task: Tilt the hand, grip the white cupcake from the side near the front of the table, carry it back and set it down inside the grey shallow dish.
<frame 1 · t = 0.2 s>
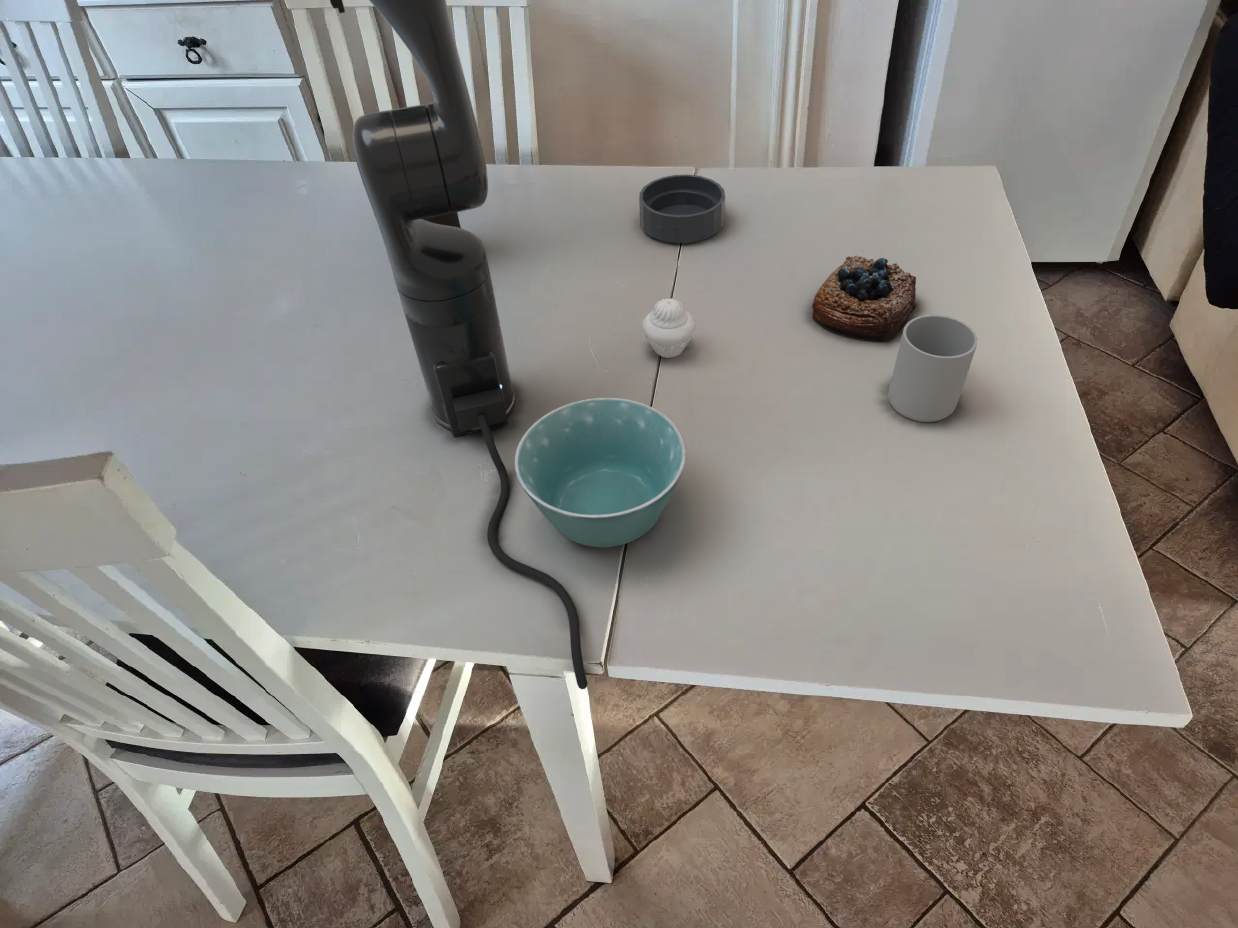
hand: (376, 6, 102), 29 cm above the table, tool pointing down, fingers open, 8 cm apart
white cupcake: (669, 351, 98), on the table
grey shallow dish: (681, 223, 117), on the table
pastry: (862, 312, 101), on the table
cup: (923, 395, 90), on the table
container: (438, 258, 115), on the table
bowl: (605, 511, 81), on the table
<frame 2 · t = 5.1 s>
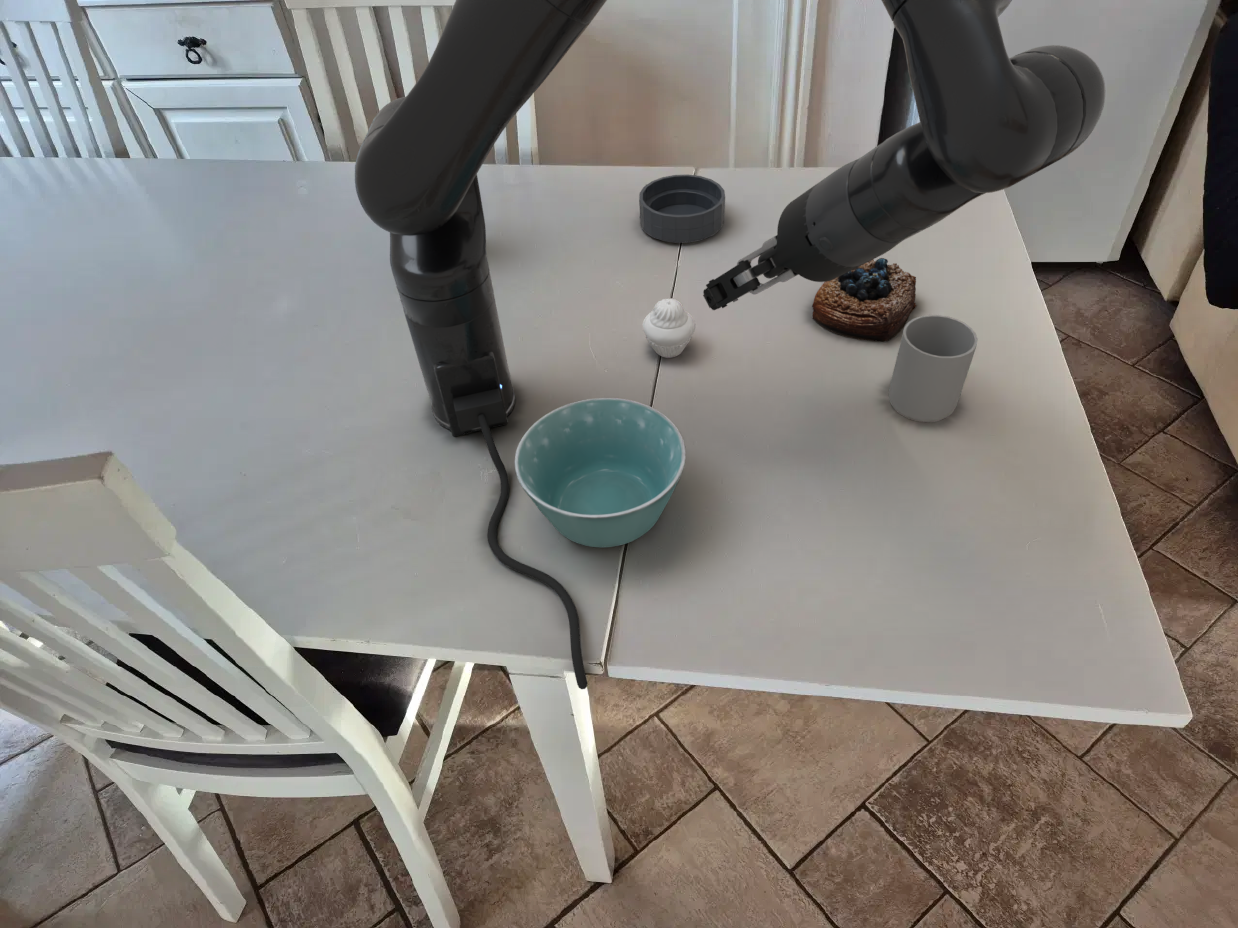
hand: (742, 283, 80), 15 cm above the table, tool tilted 45°, fingers open, 8 cm apart
nothing on the table moved.
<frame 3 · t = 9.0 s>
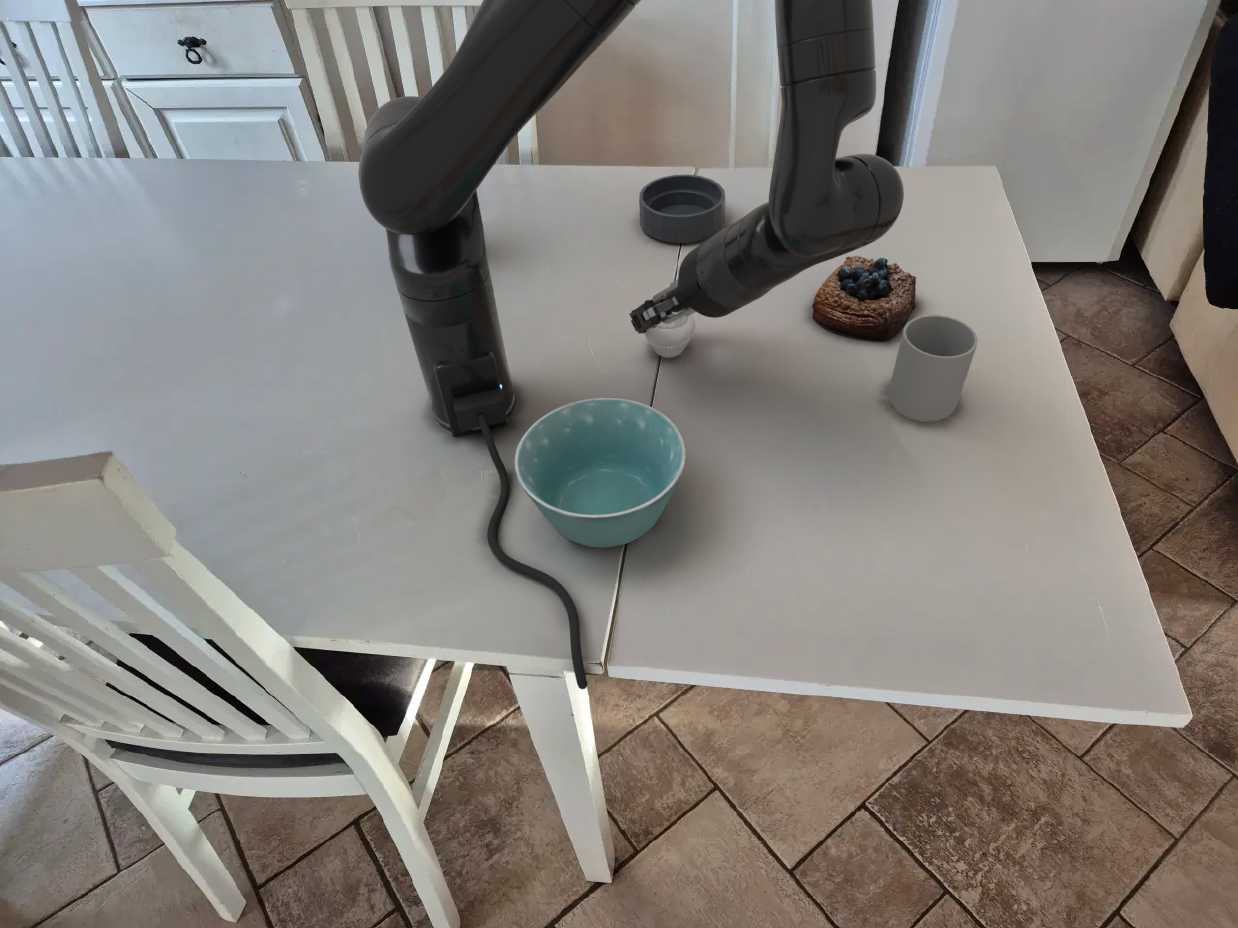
hand: (659, 313, 95), 4 cm above the table, tool tilted 45°, fingers closed on white cupcake, 6 cm apart
white cupcake: (669, 351, 98), on the table, touching gripper
everything else where it was.
when the fingers open (5 cm above the table, at t = 19.0 s): white cupcake stays where it is, resting on grey shallow dish.
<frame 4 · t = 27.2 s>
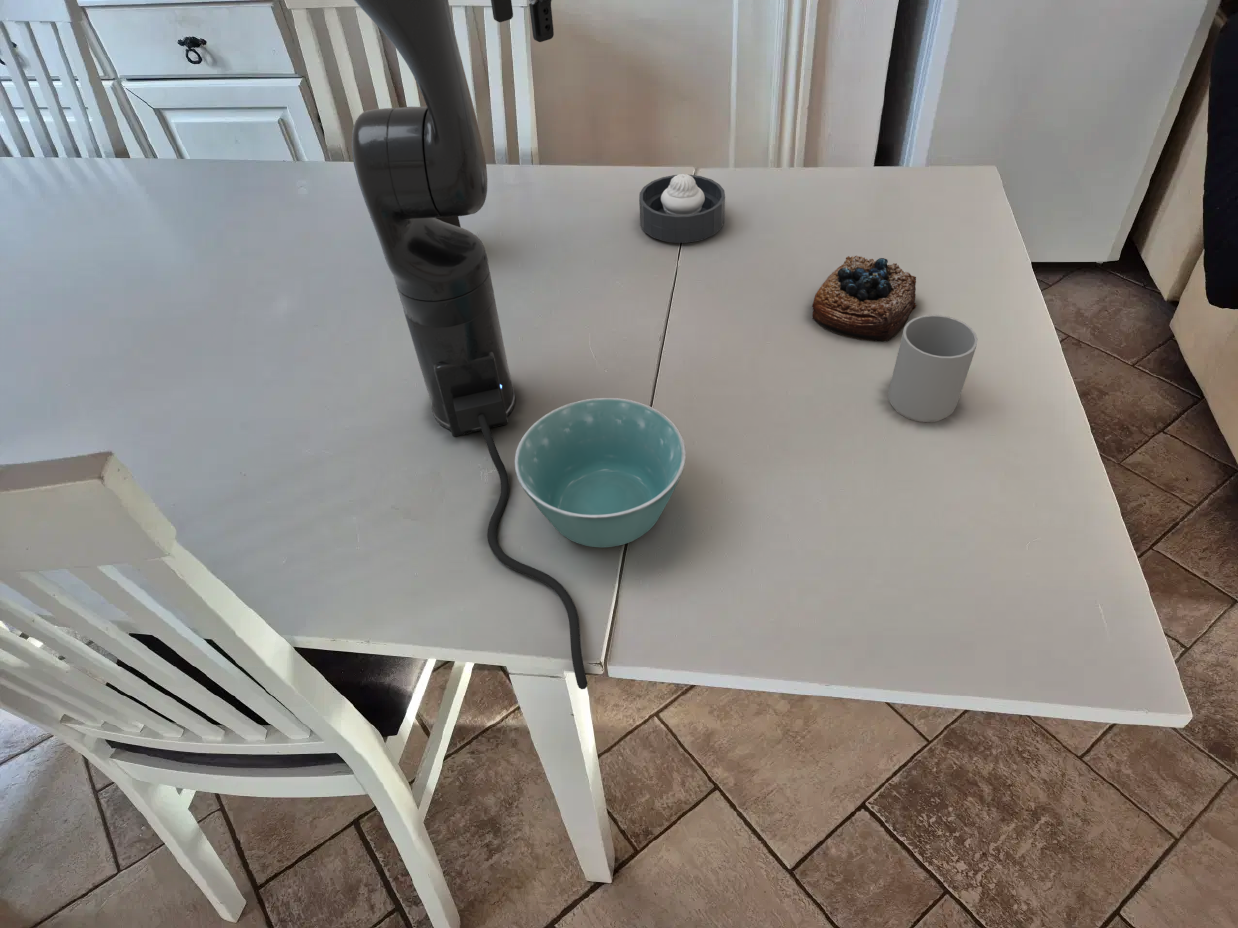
hand: (523, 30, 90), 30 cm above the table, tool pointing down, fingers open, 8 cm apart
white cupcake: (682, 222, 117), resting on grey shallow dish
everything else where it was.
at the end: white cupcake inside the target area in the grey shallow dish (0.1 cm from its centre), point 0.3 cm above the grey shallow dish's base; the gripper is holding nothing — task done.
